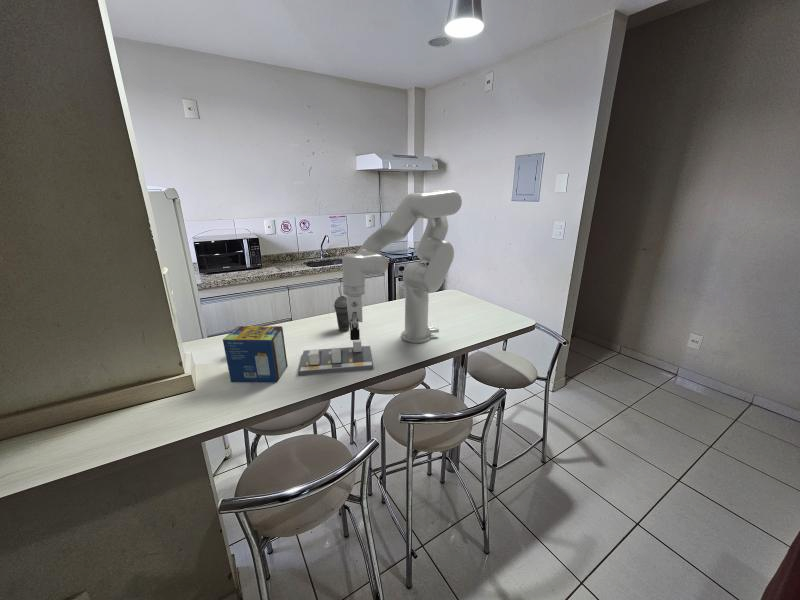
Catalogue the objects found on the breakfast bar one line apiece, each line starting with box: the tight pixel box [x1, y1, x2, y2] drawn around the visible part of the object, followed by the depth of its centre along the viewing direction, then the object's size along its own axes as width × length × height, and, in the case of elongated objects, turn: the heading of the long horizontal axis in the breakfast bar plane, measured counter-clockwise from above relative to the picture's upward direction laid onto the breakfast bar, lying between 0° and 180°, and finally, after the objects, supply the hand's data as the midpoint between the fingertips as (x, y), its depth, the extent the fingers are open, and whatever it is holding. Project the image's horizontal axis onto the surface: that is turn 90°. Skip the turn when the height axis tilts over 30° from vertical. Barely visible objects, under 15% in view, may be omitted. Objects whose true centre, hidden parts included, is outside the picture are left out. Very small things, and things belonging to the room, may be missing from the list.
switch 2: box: [352, 337, 362, 352], centre depth 121 cm, size 3×3×4 cm
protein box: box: [222, 325, 289, 384], centre depth 107 cm, size 10×15×16 cm
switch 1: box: [309, 349, 320, 365], centre depth 113 cm, size 3×3×4 cm
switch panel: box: [298, 345, 374, 376], centre depth 117 cm, size 25×15×2 cm, turn 99°
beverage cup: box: [333, 286, 350, 333], centre depth 141 cm, size 7×7×20 cm
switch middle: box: [331, 347, 342, 363], centre depth 114 cm, size 3×3×4 cm
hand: (354, 334), depth 119 cm, fingers open, 9 cm apart
